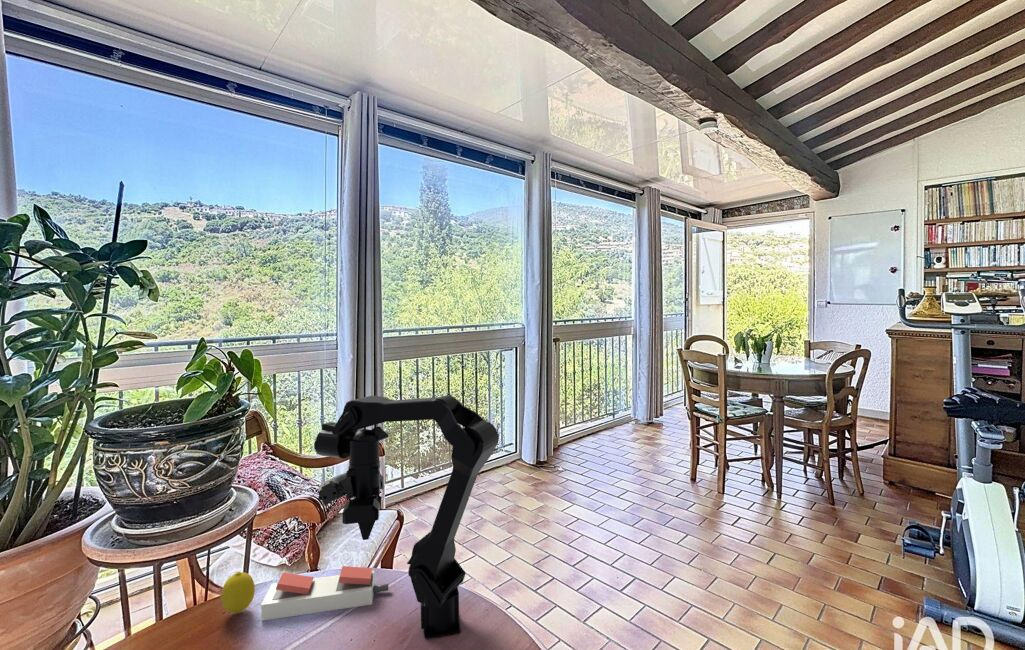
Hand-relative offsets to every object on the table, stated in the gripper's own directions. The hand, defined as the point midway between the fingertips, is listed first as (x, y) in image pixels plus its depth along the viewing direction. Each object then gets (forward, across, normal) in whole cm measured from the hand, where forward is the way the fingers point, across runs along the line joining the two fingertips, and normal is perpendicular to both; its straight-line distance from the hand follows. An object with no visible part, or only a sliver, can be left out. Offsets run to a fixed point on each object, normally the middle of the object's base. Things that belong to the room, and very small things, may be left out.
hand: (365, 538), depth 90 cm
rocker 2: (+9, -3, -2) cm, 10 cm away
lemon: (+13, -3, -24) cm, 28 cm away
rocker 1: (+9, -3, -14) cm, 17 cm away
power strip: (+13, -3, -8) cm, 15 cm away
